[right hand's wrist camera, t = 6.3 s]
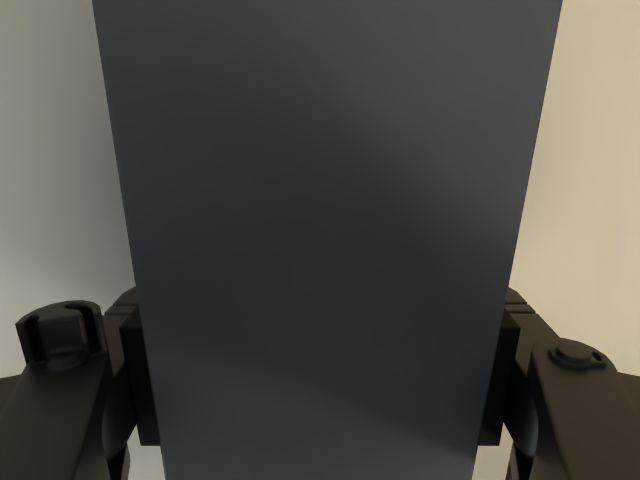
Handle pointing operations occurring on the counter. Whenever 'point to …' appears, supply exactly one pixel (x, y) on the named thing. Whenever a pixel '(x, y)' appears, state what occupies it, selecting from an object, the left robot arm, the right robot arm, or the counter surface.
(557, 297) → the counter surface
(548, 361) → the right robot arm
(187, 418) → the post
